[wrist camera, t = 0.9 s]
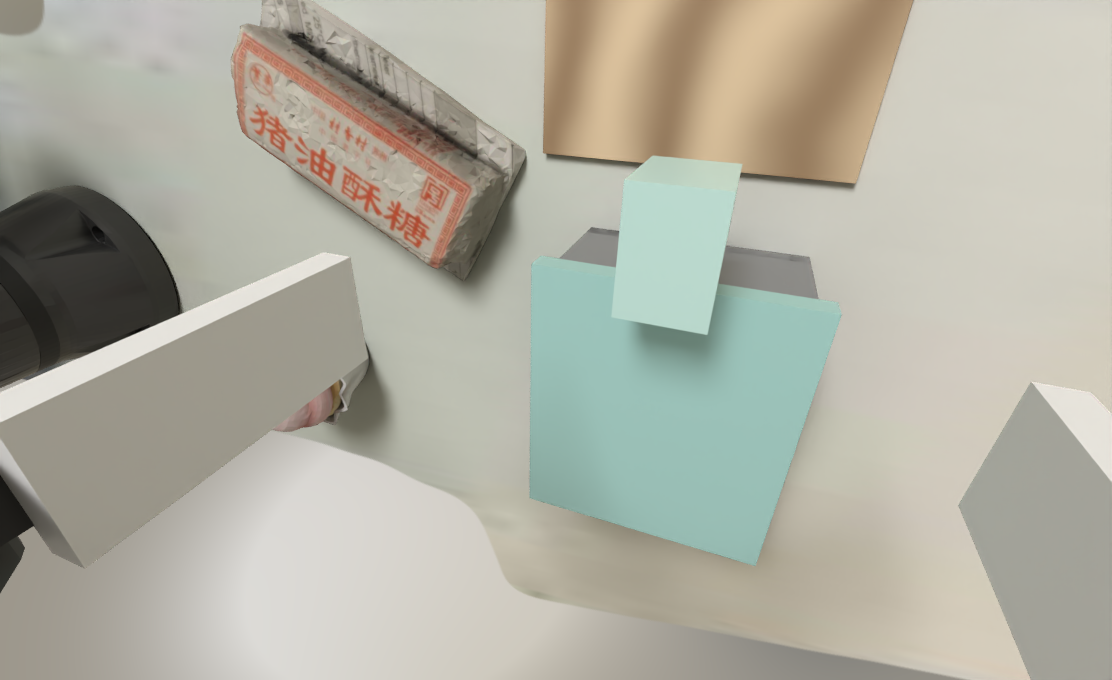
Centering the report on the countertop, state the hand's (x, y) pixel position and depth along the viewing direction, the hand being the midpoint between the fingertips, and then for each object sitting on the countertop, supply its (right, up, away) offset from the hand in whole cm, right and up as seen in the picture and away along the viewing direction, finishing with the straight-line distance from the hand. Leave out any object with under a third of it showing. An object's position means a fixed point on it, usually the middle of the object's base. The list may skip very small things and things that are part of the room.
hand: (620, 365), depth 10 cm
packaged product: (-12, +14, +23) cm, 29 cm away
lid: (+4, -1, +15) cm, 15 cm away
